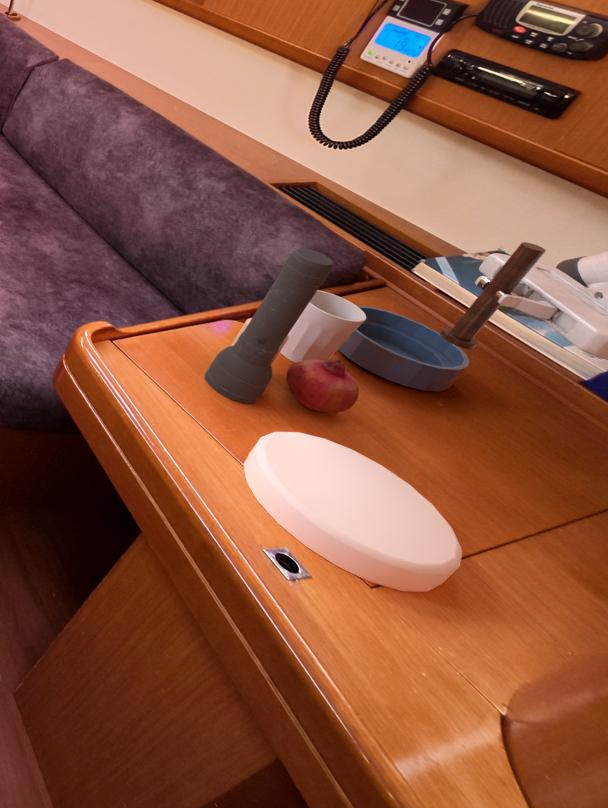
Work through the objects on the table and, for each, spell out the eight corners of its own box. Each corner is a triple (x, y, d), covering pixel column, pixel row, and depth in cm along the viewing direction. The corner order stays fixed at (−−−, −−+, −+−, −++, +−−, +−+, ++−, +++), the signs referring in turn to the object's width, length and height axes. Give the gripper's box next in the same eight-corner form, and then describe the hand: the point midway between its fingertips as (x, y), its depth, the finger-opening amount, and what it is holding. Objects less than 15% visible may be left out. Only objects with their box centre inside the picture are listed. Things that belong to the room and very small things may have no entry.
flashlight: (194, 372, 108) (233, 405, 102) (270, 243, 96) (320, 273, 90) (229, 368, 109) (269, 402, 103) (309, 241, 97) (360, 270, 91)
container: (211, 438, 96) (224, 418, 94) (356, 459, 94) (373, 439, 92) (312, 576, 79) (331, 554, 77) (494, 607, 76) (519, 586, 74)
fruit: (355, 430, 98) (390, 386, 94) (294, 418, 100) (326, 374, 96) (321, 390, 105) (352, 348, 101) (264, 379, 107) (293, 337, 103)
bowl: (435, 356, 113) (455, 332, 111) (458, 410, 103) (481, 384, 100) (321, 317, 122) (337, 294, 119) (331, 363, 111) (349, 338, 108)
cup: (288, 367, 110) (323, 316, 105) (260, 335, 117) (291, 286, 112) (341, 376, 108) (379, 325, 103) (309, 343, 115) (343, 294, 110)
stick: (470, 339, 98) (548, 245, 90) (477, 352, 96) (558, 257, 87) (436, 328, 100) (510, 236, 92) (442, 341, 98) (518, 247, 89)
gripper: (570, 256, 97) (451, 235, 101) (711, 348, 79) (561, 318, 84) (542, 287, 99) (429, 265, 104) (674, 382, 82) (531, 352, 87)
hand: (489, 289), depth 94 cm, fingers closed on stick, 2 cm apart
